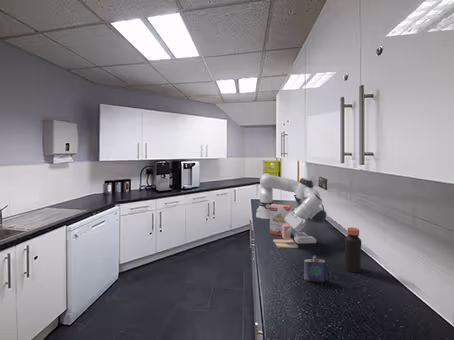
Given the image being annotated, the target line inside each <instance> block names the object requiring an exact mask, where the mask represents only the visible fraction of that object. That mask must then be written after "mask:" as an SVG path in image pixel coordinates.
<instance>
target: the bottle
mask: <svg viewBox="0 0 454 340" xmlns="http://www.w3.org/2000/svg"><path fill="white" fill-rule="evenodd" d="M359 236H360V229H359V228H357V227H347V236H345V238H344V269H345V271H348V272H351V273H354V272H355V274H357V273H356V272H358V273H360V272H361V271H362V270H361V269H362V265H361V264H362V239H361V238H360V237H359Z"/></svg>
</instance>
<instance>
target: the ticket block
mask: <svg viewBox="0 0 454 340" xmlns="http://www.w3.org/2000/svg"><path fill="white" fill-rule="evenodd" d="M289 228H290V225H289V224H282V236H281V237H282V239H292V238H291V236H292V231H291V232H289V233H286V230H287V229H289Z"/></svg>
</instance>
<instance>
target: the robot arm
mask: <svg viewBox="0 0 454 340" xmlns="http://www.w3.org/2000/svg"><path fill="white" fill-rule="evenodd" d="M313 182H314V181H312V179H310V178H309V177H301V178H299V181H298V180H295V179H290V178H288V177H282V176H277V175H276V176H275V175H272V174H270V173H268V172H264V173H262V174H261V175H260V177H259V206H258V208H256V212H255V213H256V214H255V217H256V218H258V219H263V220H270V205H271V204H274V202H273V200H274V199H273V198H274V197H273V194H274V193H273V192H274V191H273V189H275V190H280V191H285V192H288V193H289V192H290V193H294V194H293V197H294V200H295V202H296V203H298V205H297V207H291V212H289V213H288V214H287V215H286V217H285V218H284V220H285V221H286V222H287V223H286V224H289V225H290V226H291V227H290V228H289V229H287V230H286V233H289V232H291V233H292V232H294V231H295V233H300V232H301V231H302V230H303V229H304V227H305V226H306V223H307V220H308V219H310V220H311V221H312V222H313V223H314V224H321V223H322V222H324V221H325V220H326V218H327V211H326V210H325V208H324V204H323V200H322V198H321V194H320V192H319V191H318V190H317V189H315V188H314V187H315V185H314V183H313Z"/></svg>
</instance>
